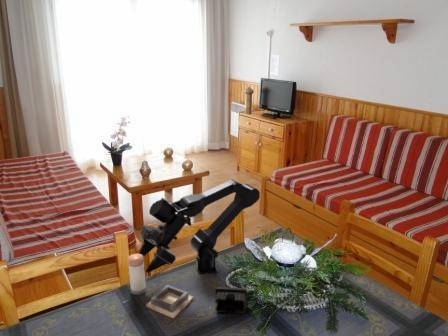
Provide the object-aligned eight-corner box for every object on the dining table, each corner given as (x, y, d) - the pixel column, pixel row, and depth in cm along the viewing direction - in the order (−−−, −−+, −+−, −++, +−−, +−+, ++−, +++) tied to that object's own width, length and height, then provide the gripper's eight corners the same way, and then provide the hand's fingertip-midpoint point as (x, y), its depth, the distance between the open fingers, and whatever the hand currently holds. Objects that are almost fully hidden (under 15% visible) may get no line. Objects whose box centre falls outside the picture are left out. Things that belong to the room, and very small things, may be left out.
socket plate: (167, 288, 131) (166, 281, 130) (193, 298, 126) (193, 291, 125) (146, 306, 122) (145, 299, 121) (173, 318, 117) (173, 311, 116)
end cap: (246, 301, 125) (247, 284, 123) (246, 316, 118) (246, 298, 116) (216, 300, 125) (216, 282, 123) (214, 314, 119) (214, 296, 117)
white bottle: (144, 284, 133) (142, 252, 129) (146, 293, 129) (144, 260, 125) (130, 287, 132) (127, 255, 128) (131, 296, 127) (128, 262, 123)
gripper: (145, 207, 133) (116, 242, 131) (165, 228, 118) (132, 269, 116) (166, 222, 139) (139, 256, 138) (188, 244, 124) (158, 283, 122)
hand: (142, 265), depth 128 cm, fingers open, 9 cm apart
